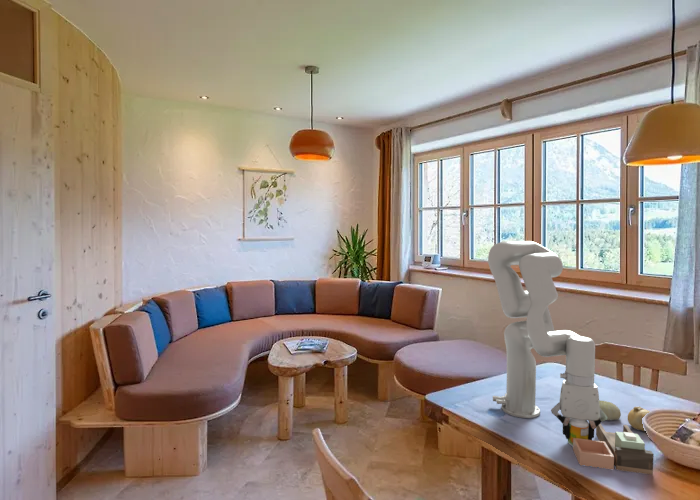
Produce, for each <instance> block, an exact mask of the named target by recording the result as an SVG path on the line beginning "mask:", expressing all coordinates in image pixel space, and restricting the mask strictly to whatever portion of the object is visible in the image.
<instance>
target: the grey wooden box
mask: <svg viewBox="0 0 700 500" xmlns="http://www.w3.org/2000/svg"><path fill="white" fill-rule="evenodd" d="M622 432H629V433H634V432H633V431H632V430H631V429H630V427H629V426H628V425H627V424H623V426H622ZM595 435H596V437H597V439H598V441H604V442H606V444H607V446H608V447H609V449H610V451H611V452H612V454H613V456H614V469H616V471H622V472H629V473H638V474H645V475H651V476H652V475H654V453H653V451H652V450H647V449H645V450H639V449H631V448H623V447H615V432H611V431H606V429H605V428H604V426H603V425H602V423H601V424H599V425H598V426H597V427H596V428H595Z"/></svg>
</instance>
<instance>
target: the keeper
mask: <svg viewBox="0 0 700 500" xmlns="http://www.w3.org/2000/svg"><path fill="white" fill-rule="evenodd" d="M614 433H615V447H623V448H631V449H639V450H646V443H645V442H644V440H643V439H642V438H641V436H640V435H639V434H638V433H634V432H633V433H629V432H623V431H615V432H614Z"/></svg>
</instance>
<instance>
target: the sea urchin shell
mask: <svg viewBox="0 0 700 500" xmlns="http://www.w3.org/2000/svg"><path fill="white" fill-rule="evenodd" d="M599 404H600V409H601V410H602V411H603V412H604V413H605V414H606V416H607V417H608V418H607V419H606V420H605V421H617V420H618V419H621V410H620V408H619V407H618V406H617V404H614V403H613V402H610V401H605V400H601V399H599Z"/></svg>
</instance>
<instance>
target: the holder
mask: <svg viewBox="0 0 700 500" xmlns="http://www.w3.org/2000/svg"><path fill="white" fill-rule="evenodd" d="M572 451H573V453H574V456H575V458H576V460H577V462H578V465H579V464H580V465H579V466H582V465H585V467H589V466H592V467H591V468H597V467H599V468H598V469H604V468H605V469H606V470H612V471H614V470H615V466H614V456H613V454H612V452H611V451H610V449H609V447H608V446H607V444H606V442H604V441H599V440H594V439H592V440H587V439H578V438H573V446H572Z"/></svg>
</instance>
